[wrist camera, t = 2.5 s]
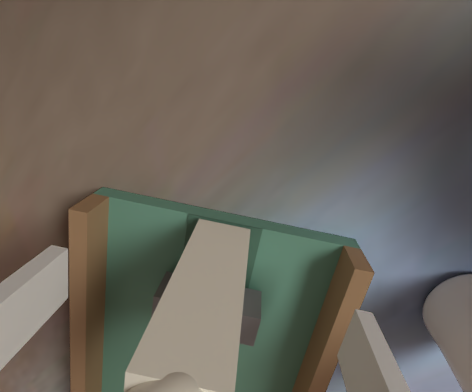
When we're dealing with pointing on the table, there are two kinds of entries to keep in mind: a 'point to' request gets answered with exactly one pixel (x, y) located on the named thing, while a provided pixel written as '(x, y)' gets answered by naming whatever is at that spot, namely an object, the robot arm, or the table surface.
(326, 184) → the table surface
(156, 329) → the striker
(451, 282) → the drinking glass
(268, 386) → the pitch
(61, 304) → the robot arm
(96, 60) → the table surface
